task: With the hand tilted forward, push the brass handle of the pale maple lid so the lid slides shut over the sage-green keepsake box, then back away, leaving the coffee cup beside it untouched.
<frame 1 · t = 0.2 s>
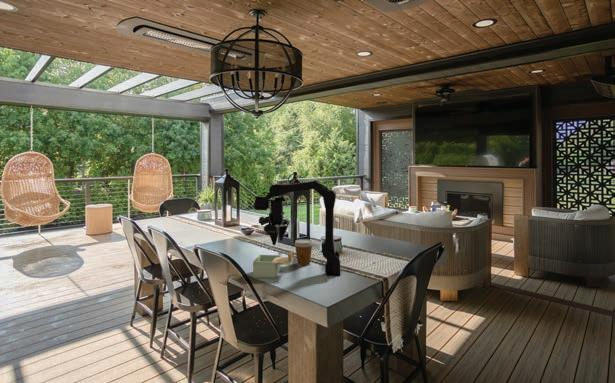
hand: (277, 242, 178), 14 cm above the table, tool pointing down, fingers open, 9 cm apart
keepsake box: (267, 274, 176), on the table
lid: (282, 257, 174), point 8 cm above the table, slide at 7.0 cm
disposable coffee cup: (303, 264, 192), on the table
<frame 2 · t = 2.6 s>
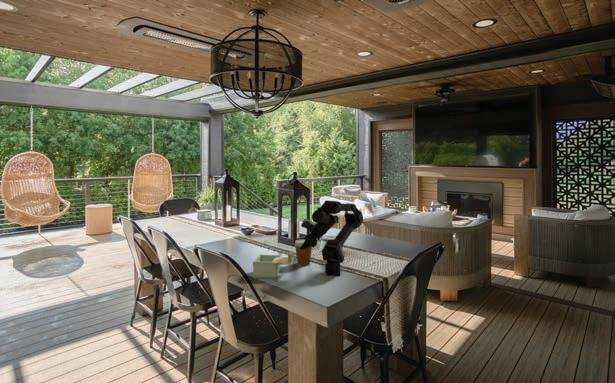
hand: (300, 248, 173), 12 cm above the table, tool tilted 45°, fingers closed
nothing on the table moved.
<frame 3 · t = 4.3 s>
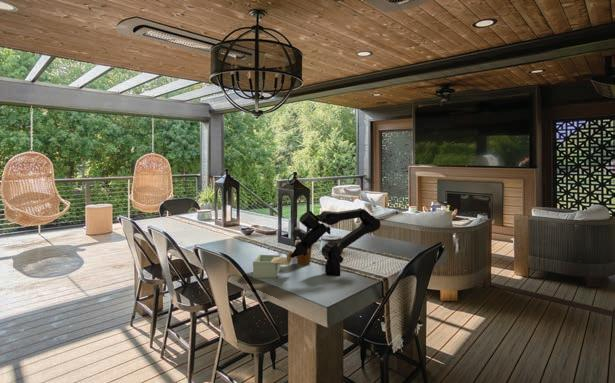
hand: (291, 257, 173), 9 cm above the table, tool tilted 45°, fingers closed, pressing on lid
lid: (281, 257, 174), point 8 cm above the table, slide at 6.4 cm, touching gripper
everything else where it was.
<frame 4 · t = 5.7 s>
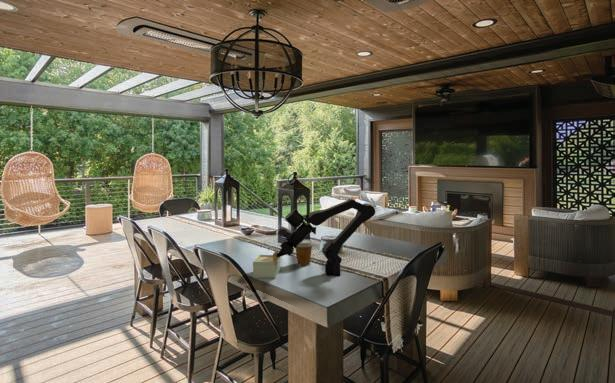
hand: (277, 256, 174), 9 cm above the table, tool tilted 45°, fingers closed, pressing on lid
lid: (267, 256, 175), point 8 cm above the table, slide at -0.1 cm, touching gripper
everything else where it was.
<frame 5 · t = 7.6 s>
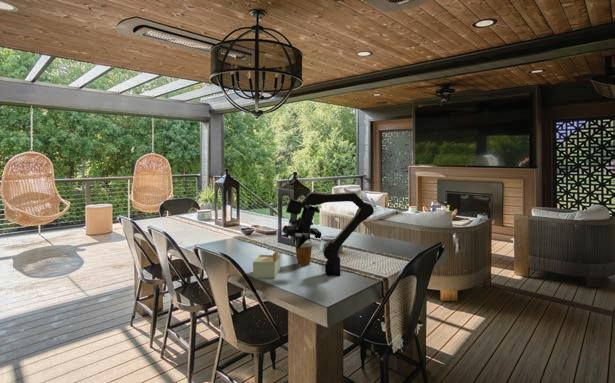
hand: (297, 248, 177), 12 cm above the table, tool tilted 20°, fingers closed
lid: (267, 256, 175), point 8 cm above the table, slide at 0.0 cm
everything else where it was.
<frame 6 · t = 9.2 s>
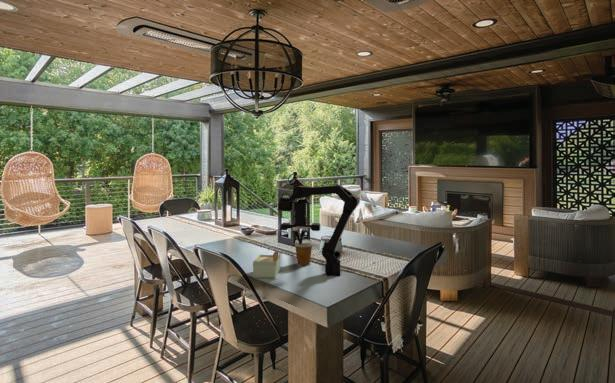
hand: (300, 244, 180), 13 cm above the table, tool pointing down, fingers closed
nothing on the table moved.
at the end: lid slide at 0.0 cm; disposable coffee cup moved 0.2 cm from its start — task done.
